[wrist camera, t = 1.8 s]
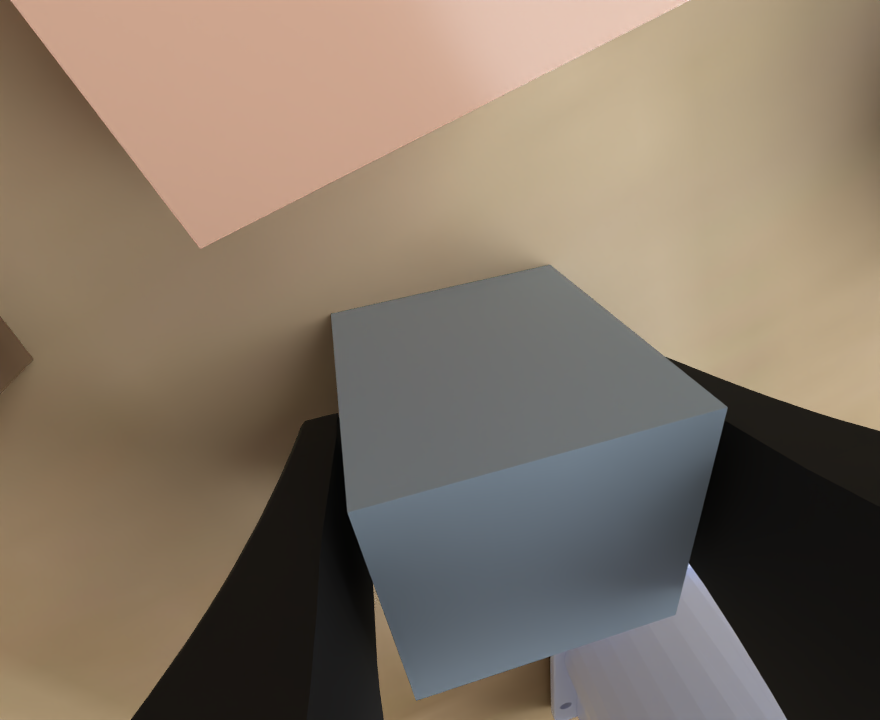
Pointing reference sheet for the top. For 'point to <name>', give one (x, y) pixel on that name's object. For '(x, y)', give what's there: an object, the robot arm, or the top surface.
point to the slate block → (516, 471)
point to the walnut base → (11, 356)
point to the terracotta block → (300, 83)
